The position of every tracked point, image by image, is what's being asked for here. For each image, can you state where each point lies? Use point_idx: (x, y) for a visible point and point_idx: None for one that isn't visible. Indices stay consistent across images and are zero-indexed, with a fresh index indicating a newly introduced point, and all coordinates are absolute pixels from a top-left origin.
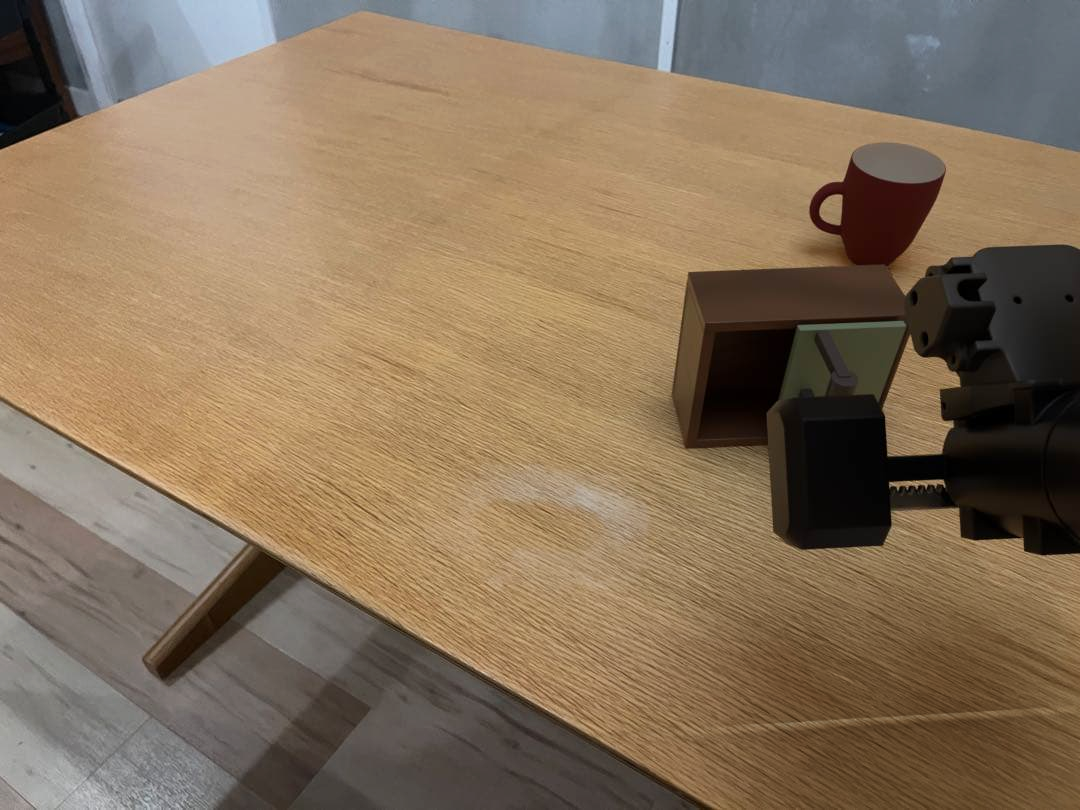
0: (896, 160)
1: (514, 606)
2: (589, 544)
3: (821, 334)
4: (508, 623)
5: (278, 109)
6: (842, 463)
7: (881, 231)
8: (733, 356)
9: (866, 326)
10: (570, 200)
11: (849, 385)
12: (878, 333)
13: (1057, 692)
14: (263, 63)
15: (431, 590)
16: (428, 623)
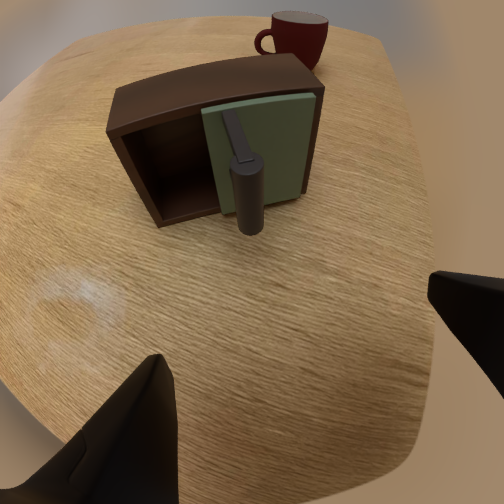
0: (300, 20)
1: (52, 387)
2: (87, 333)
3: (225, 113)
4: (51, 399)
5: (29, 87)
6: None
7: (298, 52)
8: (185, 144)
9: (275, 99)
10: (128, 73)
11: (251, 173)
12: (289, 105)
13: (420, 393)
14: (35, 72)
15: (18, 373)
16: (20, 395)
